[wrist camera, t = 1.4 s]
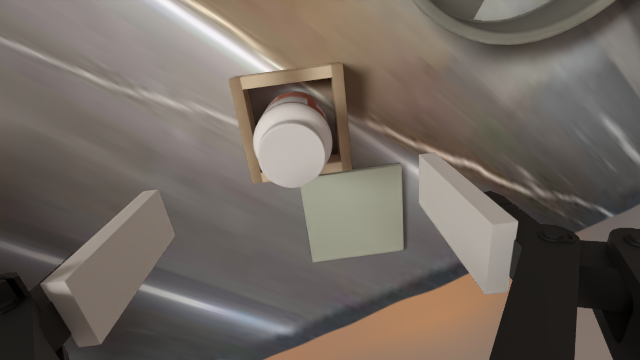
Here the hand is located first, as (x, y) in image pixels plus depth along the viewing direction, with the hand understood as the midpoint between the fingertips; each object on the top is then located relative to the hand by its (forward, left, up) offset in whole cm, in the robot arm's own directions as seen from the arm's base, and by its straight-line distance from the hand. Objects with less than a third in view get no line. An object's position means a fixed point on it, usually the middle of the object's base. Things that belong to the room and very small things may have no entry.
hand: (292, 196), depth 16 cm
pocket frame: (0, 0, -17) cm, 17 cm away
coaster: (+5, -11, -17) cm, 21 cm away
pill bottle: (0, 0, -17) cm, 17 cm away
